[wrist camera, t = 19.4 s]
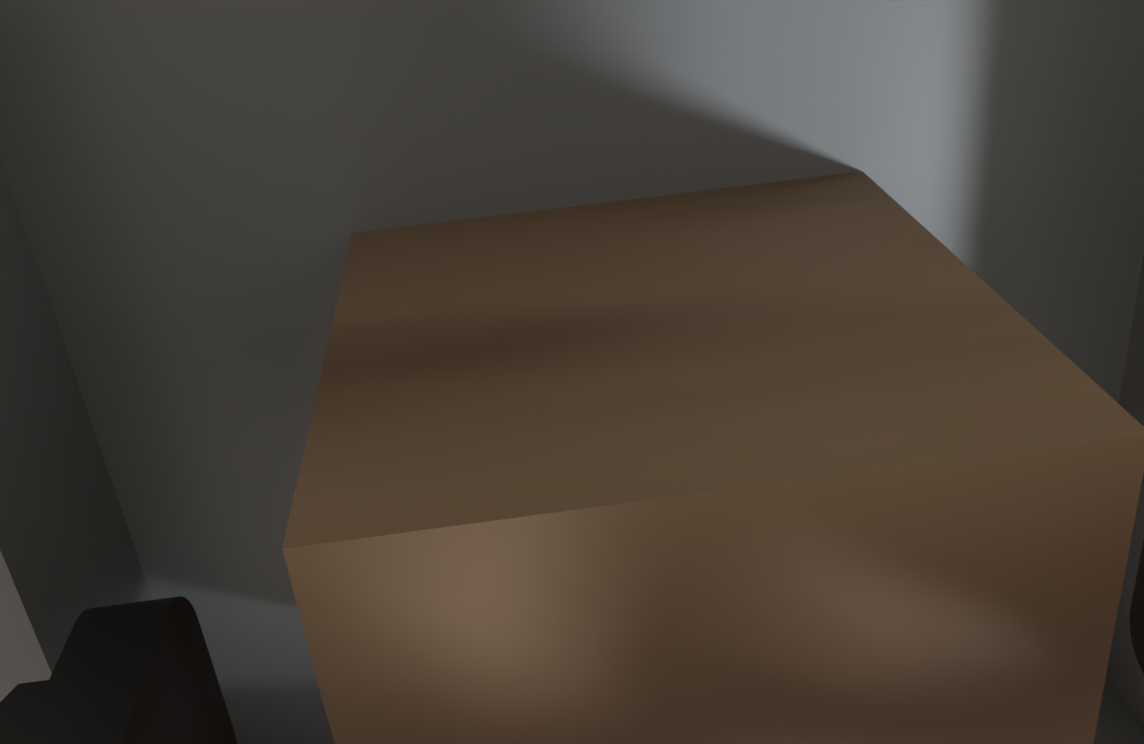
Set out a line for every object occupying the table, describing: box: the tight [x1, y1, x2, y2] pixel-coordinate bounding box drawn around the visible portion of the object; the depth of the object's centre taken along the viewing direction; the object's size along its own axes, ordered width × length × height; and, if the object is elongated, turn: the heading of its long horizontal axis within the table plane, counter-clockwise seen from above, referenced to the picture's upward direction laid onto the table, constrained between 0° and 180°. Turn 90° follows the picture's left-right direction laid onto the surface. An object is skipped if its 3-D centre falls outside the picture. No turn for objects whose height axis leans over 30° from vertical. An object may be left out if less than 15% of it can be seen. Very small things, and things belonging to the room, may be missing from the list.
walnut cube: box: [282, 172, 1144, 744], centre depth 10 cm, size 5×5×5 cm
